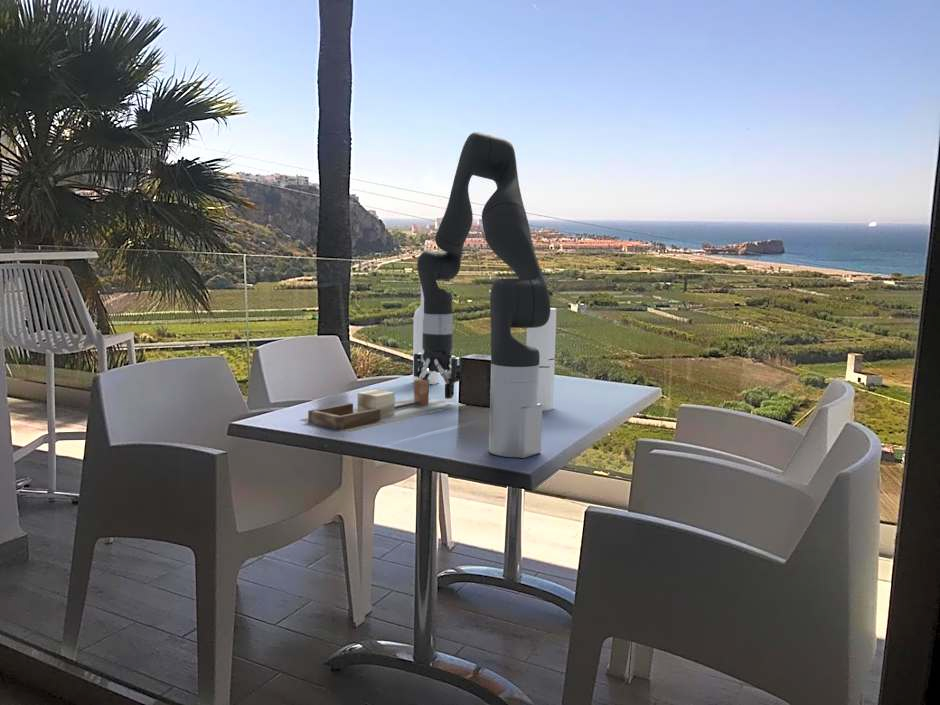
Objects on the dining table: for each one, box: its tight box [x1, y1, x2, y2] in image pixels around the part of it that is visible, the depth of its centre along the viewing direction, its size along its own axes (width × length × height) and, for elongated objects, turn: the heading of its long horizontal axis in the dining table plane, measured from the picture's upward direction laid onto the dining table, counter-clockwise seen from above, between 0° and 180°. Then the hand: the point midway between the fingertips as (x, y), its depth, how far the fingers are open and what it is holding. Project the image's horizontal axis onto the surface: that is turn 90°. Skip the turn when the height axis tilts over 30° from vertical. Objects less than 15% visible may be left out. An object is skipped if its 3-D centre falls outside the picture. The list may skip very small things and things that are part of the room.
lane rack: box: [300, 396, 467, 432], centre depth 175 cm, size 16×39×3 cm, turn 142°
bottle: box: [412, 285, 441, 385], centre depth 219 cm, size 8×8×30 cm
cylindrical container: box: [525, 307, 557, 412], centre depth 186 cm, size 7×7×25 cm
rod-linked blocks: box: [357, 379, 430, 417], centre depth 177 cm, size 6×20×6 cm, turn 142°
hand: (436, 396), depth 188 cm, fingers open, 7 cm apart
